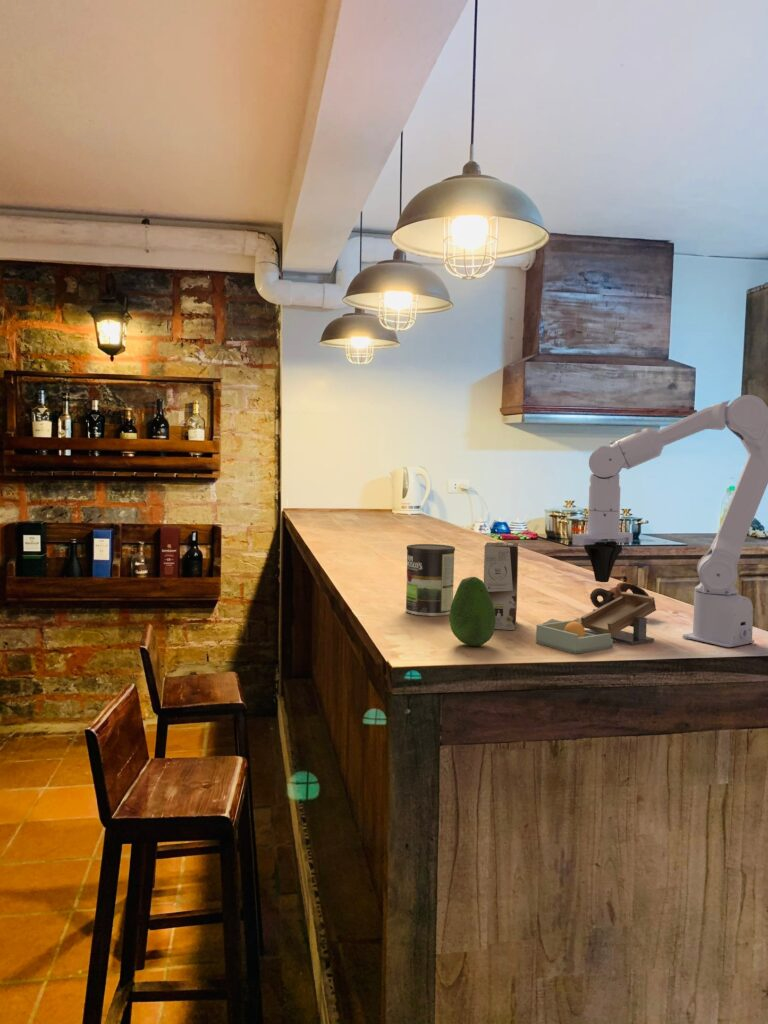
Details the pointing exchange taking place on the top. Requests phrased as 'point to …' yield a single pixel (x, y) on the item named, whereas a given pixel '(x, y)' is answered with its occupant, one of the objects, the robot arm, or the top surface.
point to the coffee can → (429, 579)
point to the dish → (571, 639)
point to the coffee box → (502, 581)
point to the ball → (575, 629)
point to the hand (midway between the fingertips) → (601, 581)
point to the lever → (617, 613)
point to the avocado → (472, 613)
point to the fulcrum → (630, 638)
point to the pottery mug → (614, 593)
